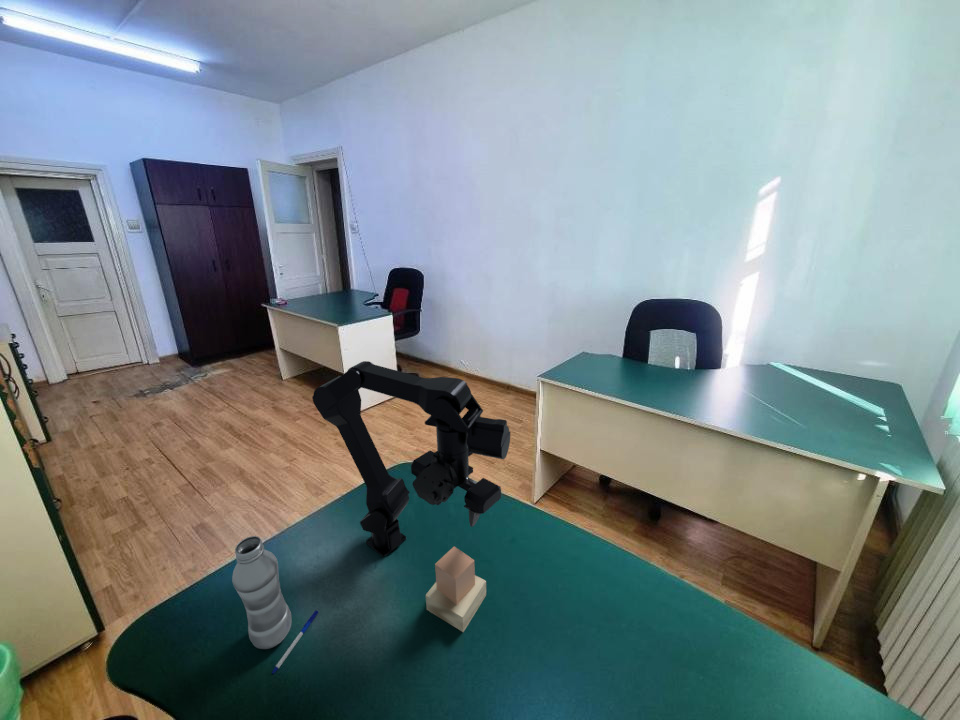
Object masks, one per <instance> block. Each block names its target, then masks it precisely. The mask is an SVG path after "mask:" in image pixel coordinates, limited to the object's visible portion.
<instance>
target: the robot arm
mask: <svg viewBox="0 0 960 720" xmlns="http://www.w3.org/2000/svg"><path fill="white" fill-rule="evenodd" d="M361 389H366V390H369V391H372V392H375V393H378V394H383V395H386V396H390V397H393V398H396V399H400V400H403V401H406V402H410V403H413V404H415V405H418V407H420V408H421V410H423V412H424V413H425V414H427V415H430V416H428V418H427V419H426V420H425V421H424V425H425V426H431V427H435V429H436V432H435V433H436V449H437V450H436V451H432V450H428V451H426V452H425V453H423V454H422V455H420V456H418V457H417V458H415V459H413V460H412V463H411V465H410V469H411V470H410V471H411V474H412V475H414V477H415V479H414V480H413V482H412V484H411V486H412V487H413V489H414V491H415V492H416V494H417V496H418V497H419V498H420V499H422V500H424V501H425V502H426V503H428V504H429V505H432V506H440V505H441V504H442V503H446V502H447V501H448V499H449V498H450V497H451V496H452V495H453V494H454V490H455V489H456V488H458V487H459V488H460V489H462V490H464V491H466V493H465V495H464V503H465V505H464V504H463V507H464V508H465V509H467V510H468V520H469V526H470V527H471V528H473V527H474V526H475V525H476V524H477V522H478V520H479V517H480V516H481V515H482V514H485V513H486V512H487V511H489V509H491V507H493V506H494V505H495V504H496V503H498V501H499V500H501V499H502V488H501V486H500V485H498V484H496V483H495V482H492V481H491V480H488V479H486V478H485V477H482V478H481V479H480V480H478V481H476V480H474V479H472V478H470V475H471V474H473V473H474V467H473V466H470V465H469V462H470V461H469V457H470V456H472V455H473V454H474V455H480V456H483V457H489V458H494V459H500V460H505V459H506V457H507V455H508V453H509V450H510V449H509V448H510V443H511V431H510V427H509V426H508V420H506V419H501V418H498V419H497V418H496V419H495V418H490V417H483V416H481V415H482V414H483V413H484V409H483V408H482V406H481V405H480V404H479V402H478V401H477V399H476V398H475V397H474V395H473V394H472V392H471V389H470V387H469V385H468V384H467V381H465V380H463V379H461V378H458V377H449V376H448V377H446V376H439V377H421V376H418V375H415V374H411V373H407V372H404V371H399V370H395V369H392V368H389V367H384V366H381V365H377V364H374V363H373V362H371V361H369V360H368V361H367V360H366V361H360V362H359V363H357V364H355V365H353V366H351V367H349V369H347V370H346V371H345V372H344V374H341V375H339V376H336V377H334V378H333V379H331V380H329V381H327V382H326V383H324V384H322V385H320V386H318V387H316V388H315V390H314V392H313V395H312V396H311V397H312V399H311V400H312V402H313V405H314V406H315V408H316V410H317V412H319V414H320V415H321V417H322V419H323V420H325V421H326V422H328V423H330V424H331V425H333V426H335V427H336V428H337V430H338V431H339V434H340V436H341V438H342V439H343V443H344V444H345V446H346V448H347V450H348V452H349V454H350V456H351V459H352V460H353V462H354V465H355V466H356V468H357V470H358V472H359V475H360V477H361V478H362V481H363V482H364V484H365V486H366V497H365V498H366V499H365V501H366V502H365V504H366V507H367V510H368V512H367V513H366V514H365V516H363V517H362V519H361V520H360V522H359V524H360V526H361V528H362V530H363V531H365V532H367V533H370V534H371V536H370V537H369V538H367V539H366V541H365V543H366V545H368V546H369V547H370V548H371V549H372V550H374V551H375V552H376V553H377V554H379V555H380V556H381V557H383V558H385V557H386V556H388V555H389V554H390V553H392V551H394V550H395V549H396V548H398V547H399V546H400V545H401V544H402V543H403V542H405V541H406V540H407V536H406V535H405V534H403V533H402V532H401V529H400V523H399V520H398V517H399V516H400V514H401V513H402V512H403V511H404V509H405V508H406V507H407V505H408V503H409V501H410V496H409V494H410V492H411V491H409V489H408V488H407V486H406V484H405V481H404V479H403V478H402V477H399V478H395V477H394V476H393V475H390V473H389V472H388V470H387V468H386V466H385V464H384V462H383V459H382V457H381V455H380V453H379V451H378V449H377V446H376V445H375V442H374V440H373V439H372V436H371V435H370V432H369V430H368V427H367V426H366V424H365V422H364V420H363V417H362V414H361V413H362V411H361V410H362V397H361V395H360V390H361ZM465 409H467V411H466V412H465V413H464V415H463V416H462V417H461V415H460V414H461V413H462V412H463V411H464V410H465Z"/></svg>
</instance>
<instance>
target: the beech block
mask: <svg viewBox="0 0 960 720" xmlns="http://www.w3.org/2000/svg"><path fill="white" fill-rule="evenodd" d="M486 596H487V581H486V580H485V579H483V578H482V577H480V576H478V575H476V574H475V585H474V587H473V588H472V589H471V590H470V591H469V592H468V593H467V594H466V595H465V596H464V598H463V599H462V600H461V601H460V602H459V603H458V604H457V605H456V604H455V603H454V602H452V601H451V600H450V599H449V598H448V597H446V596H445V595H444V594H443V593H441V592H440V591H439V590H438V589H437V586H436V582H434V584H433V585H432V586H431V588H430V589H429V590H428V592H426V594H425V603H426V611H429V613H431V614H433V615H435V616H436V617H438V618H440V619H441V620H443V621H444V622H446V623H448V624H449V625H451V626H452V627H454V628H455V629H458V630H459V631H460V632H462V633H464V632H465V630H466V628H467V627H468V626H469V624H470V623H471V620H472V619H473V617H474V616H475V614H476V612H477V611H478V609H479V608H480V607H481V604H482V603H483V601H484V600H485V598H486Z"/></svg>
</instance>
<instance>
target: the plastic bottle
mask: <svg viewBox="0 0 960 720" xmlns="http://www.w3.org/2000/svg"><path fill="white" fill-rule="evenodd" d="M234 554H235V559H236V562H237V563H236V564H235V567H234V569H233V571H232V578H231V579H232V580H231V581H232V584H233V588H234V589H235V590H236V592H237V594H238V596H239V597H240V599H241V601H242V603H243V606H244V608H245V611H246V617H247V622H248V623H247V625H248V626H247V629H248V630H247V632H248V638H249V640H250V643H252V645H253V646H254V647H255V648H256V649H260V650H270V649H272V648H274V647H276V646H278V645H279V644H280V643H282V642H283V641H284V640H285V638H286V636H287V635H288V633H290V630H291V628H292V612H291V610H290V607H289V605H288V604H287V602H286V600H285V598H284V596H283V594H282V593H283V592H282V590H281V584H280V576H279V575H280V574H279V563H278V558H277V557H276V556H275V554H274V553H273V552H271V551H270V550H267V549H265V546H264V543H263V540H262V538H260V536H257V535H252V536H248V537H245V538H244V539H241V540H240V541H239V542H238V543H237V544H236V546H235V549H234Z"/></svg>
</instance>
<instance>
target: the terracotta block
mask: <svg viewBox="0 0 960 720" xmlns="http://www.w3.org/2000/svg"><path fill="white" fill-rule="evenodd" d="M434 569H435V583H436V586H437V589H438V590H439V591H440V592H441V593H443V594H444V595H445V596H446V597H448V598H449V599H450V600H451V601H452V602H454V603H455V604H456V605H457V604H458V603H459V602H460V601H461V600H462V599H463V598H464V596H465V595H466V594H467V593H468V592H469V591H470V590H471V589H472V588H473V587H474V585H475V575H476V570H475V559H473V558H471V557H470V556H469V555H468V554H467V553H464V552H463V551H462V550H460V549H459V548H457V547H456V546H453V547H451V549H449V550H448V551H447V552H446V553H445V554H444V555H443V556H442V557H440V559H438V561H437V562H436V563H434Z"/></svg>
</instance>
